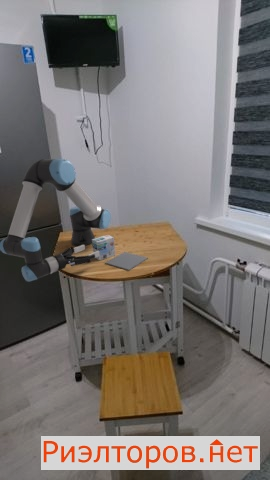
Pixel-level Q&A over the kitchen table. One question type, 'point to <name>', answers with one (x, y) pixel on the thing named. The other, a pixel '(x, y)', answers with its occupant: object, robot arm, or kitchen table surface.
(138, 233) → the kitchen table surface
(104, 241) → the light bulb box
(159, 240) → the kitchen table surface
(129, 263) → the grey mat
